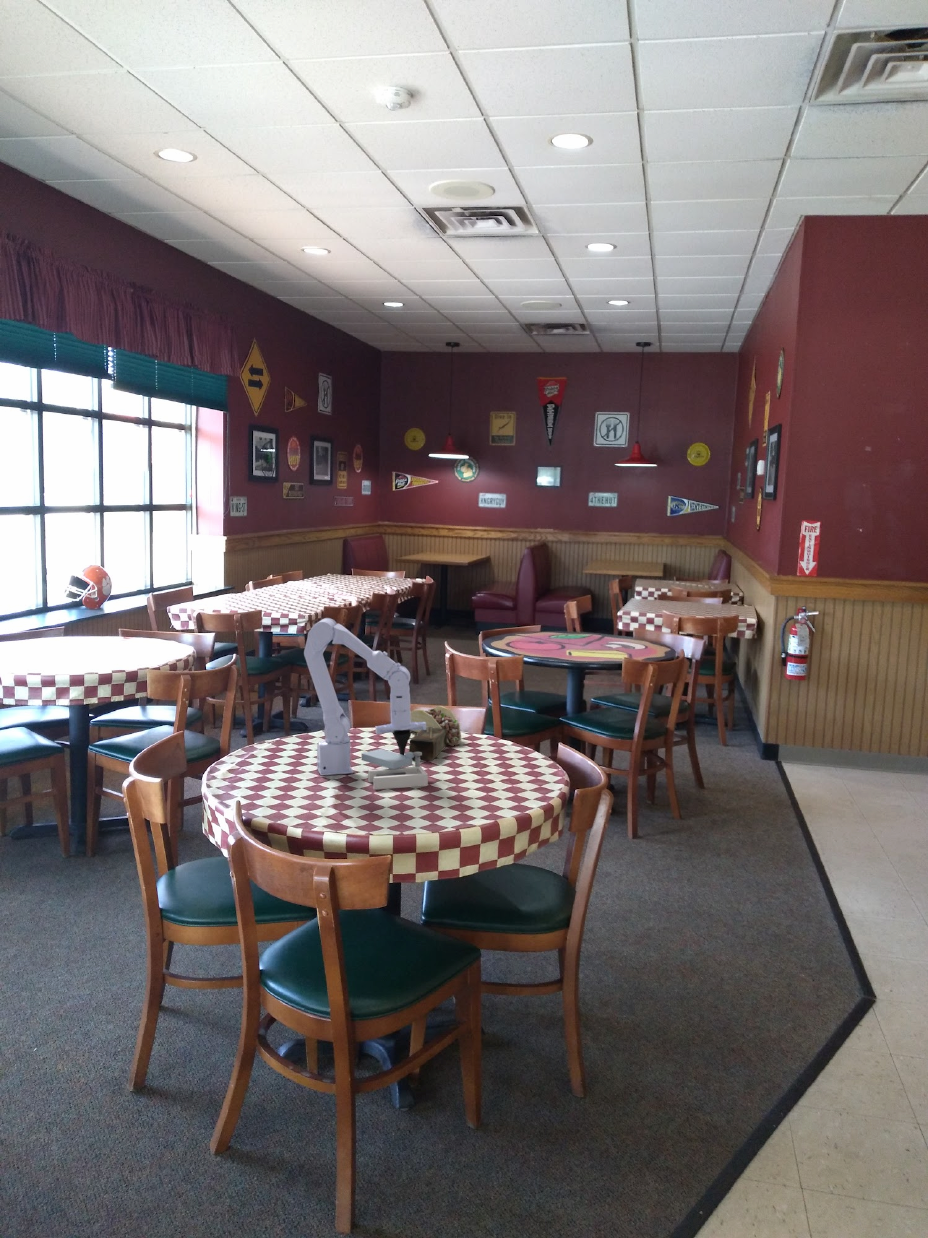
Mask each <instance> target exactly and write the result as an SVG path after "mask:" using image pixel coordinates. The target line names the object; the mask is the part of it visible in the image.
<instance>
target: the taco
mask: <svg viewBox="0 0 928 1238" xmlns="http://www.w3.org/2000/svg"><path fill="white" fill-rule="evenodd" d="M411 722H425V723H426V727H429V726H431V727H433V728H440V729H447V742H446V745H449V746H453V747H455V746H458V745H459V744H461V742H462V732H461V727H460V723H459V722H460V721H458V719H457V717H456V714H455V713H454V712H453V711H452V710H451V709H448V708H447V707H445V706H443V705H437V706H435V707H433V708H431V709H428V710H424V709H413V710H411ZM420 731H421V730H411V731H410V732H412V733H413V732H414V733H416V734H417V733H419V732H420ZM454 745H455V746H454Z"/></svg>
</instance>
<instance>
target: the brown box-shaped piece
mask: <svg viewBox="0 0 928 1238" xmlns="http://www.w3.org/2000/svg"><path fill="white" fill-rule="evenodd" d="M446 742H447V729H440V728H433V727H431V726H429V727H426V730H421V731H420V732H419V733H416V734H415V735H414V736H413V737H412V738H411V739H410V740H409V746H408V747H409V751H408V752H413V753H414V752H422V755H421V756H420V761H429V762H433V761H434V759H435V758H437V756H438V755H439V754H440V753H441V752H442V751H443V750H444V749H445V748H446V747H447V744H446ZM412 760H415V756H414V758H412Z"/></svg>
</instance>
